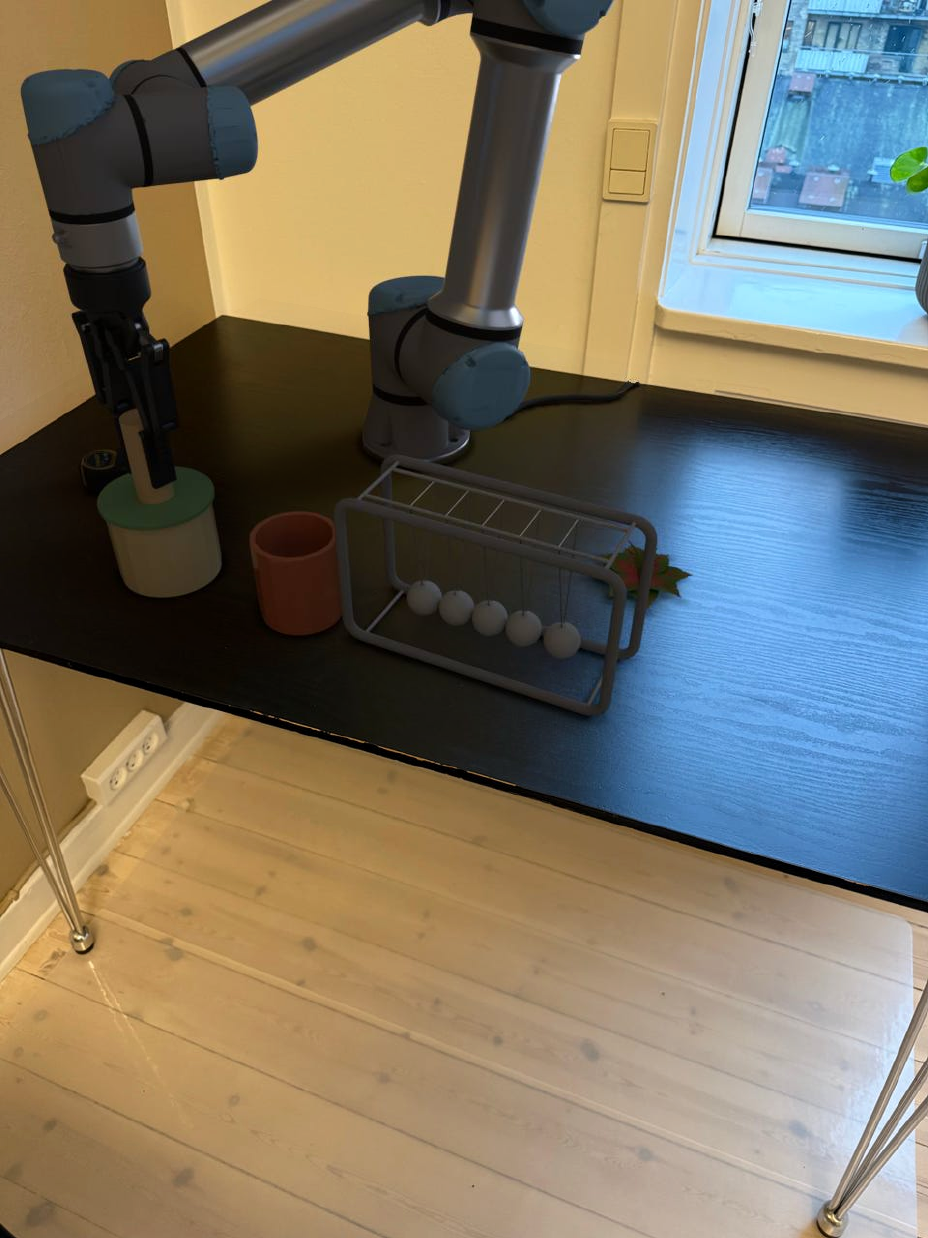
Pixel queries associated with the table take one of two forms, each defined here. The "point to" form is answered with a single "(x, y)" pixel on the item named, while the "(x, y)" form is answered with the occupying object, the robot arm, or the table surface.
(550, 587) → the table surface
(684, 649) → the table surface
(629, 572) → the red green leaf
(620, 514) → the newton's cradle
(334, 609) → the cup
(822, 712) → the table surface
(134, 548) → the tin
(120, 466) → the tape measure
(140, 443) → the lid
